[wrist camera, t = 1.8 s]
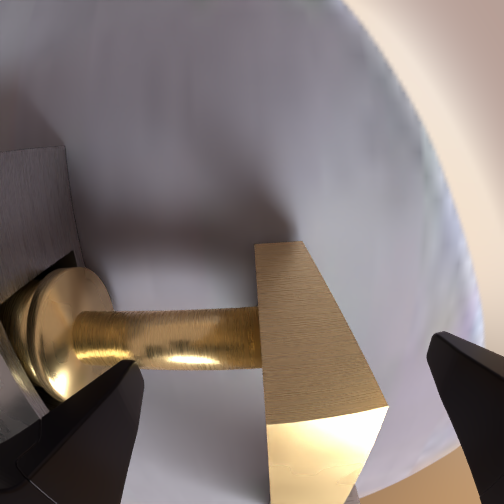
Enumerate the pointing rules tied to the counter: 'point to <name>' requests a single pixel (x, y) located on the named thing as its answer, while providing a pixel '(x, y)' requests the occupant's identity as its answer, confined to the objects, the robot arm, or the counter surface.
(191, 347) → the brass door handle
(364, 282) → the counter surface
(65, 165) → the housing
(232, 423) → the counter surface
